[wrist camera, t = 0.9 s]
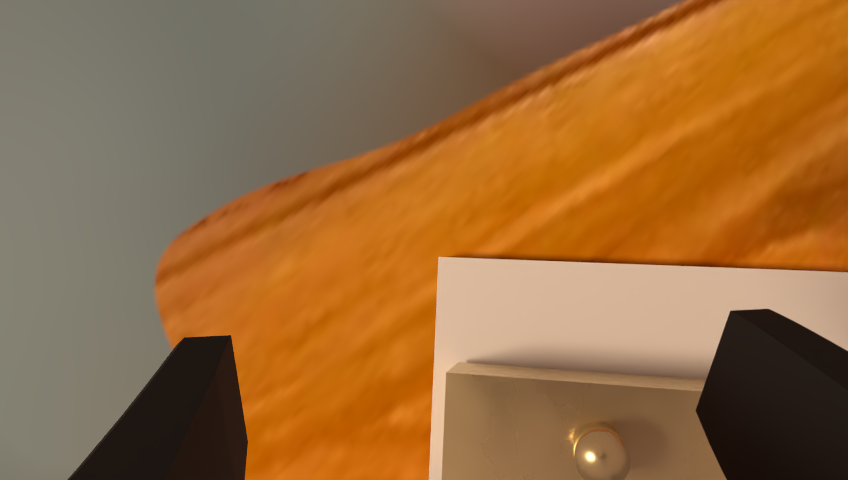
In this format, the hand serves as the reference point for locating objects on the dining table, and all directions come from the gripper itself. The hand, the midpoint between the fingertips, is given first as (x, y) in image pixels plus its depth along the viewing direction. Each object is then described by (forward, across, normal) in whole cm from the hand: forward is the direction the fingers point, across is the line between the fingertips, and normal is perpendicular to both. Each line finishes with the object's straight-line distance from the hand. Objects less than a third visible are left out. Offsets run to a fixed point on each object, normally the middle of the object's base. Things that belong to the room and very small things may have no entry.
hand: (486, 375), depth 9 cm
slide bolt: (+9, -7, +11) cm, 16 cm away
